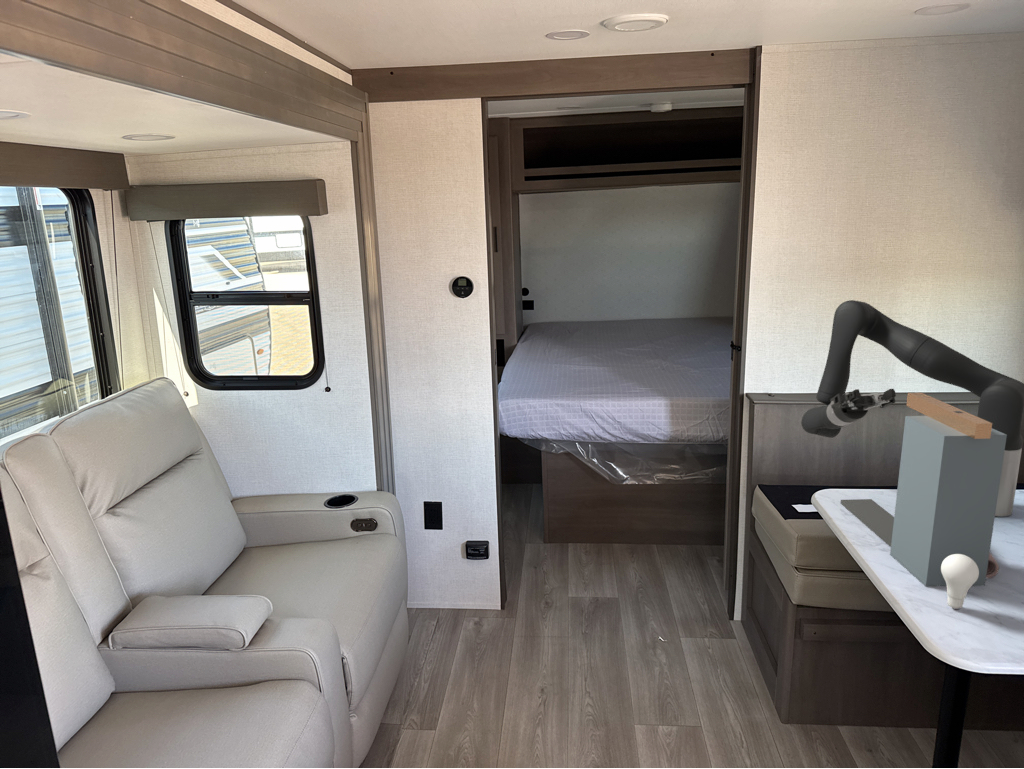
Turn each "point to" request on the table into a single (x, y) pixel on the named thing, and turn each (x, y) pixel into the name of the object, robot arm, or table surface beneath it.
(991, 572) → the coil
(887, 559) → the table surface
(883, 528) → the rubber mat
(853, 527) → the table surface
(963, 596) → the lightbulb
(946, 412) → the wooden plank with hole
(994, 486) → the tall grey-blue box
